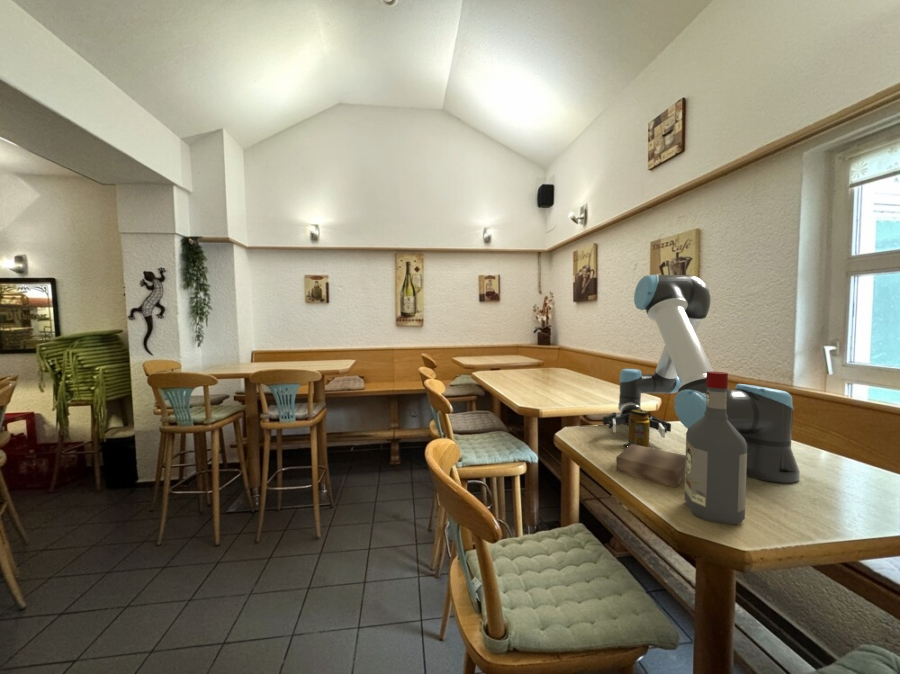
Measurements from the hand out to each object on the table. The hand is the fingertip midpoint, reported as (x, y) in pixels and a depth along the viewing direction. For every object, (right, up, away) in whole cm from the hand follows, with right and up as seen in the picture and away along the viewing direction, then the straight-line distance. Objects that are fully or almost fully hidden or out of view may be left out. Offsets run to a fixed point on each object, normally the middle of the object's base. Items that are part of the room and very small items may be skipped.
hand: (638, 430), depth 111 cm
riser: (-4, -7, -15) cm, 17 cm away
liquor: (-3, -8, -36) cm, 37 cm away
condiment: (+1, -7, +3) cm, 8 cm away
